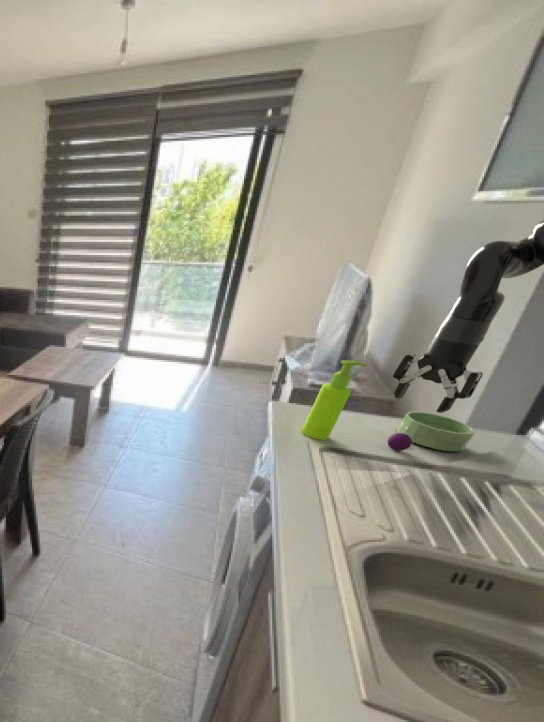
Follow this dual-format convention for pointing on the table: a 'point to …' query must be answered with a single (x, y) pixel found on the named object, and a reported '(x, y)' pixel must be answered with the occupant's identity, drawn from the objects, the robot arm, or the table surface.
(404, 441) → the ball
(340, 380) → the soap dispenser
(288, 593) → the table surface
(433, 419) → the bowl
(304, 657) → the table surface
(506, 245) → the robot arm
